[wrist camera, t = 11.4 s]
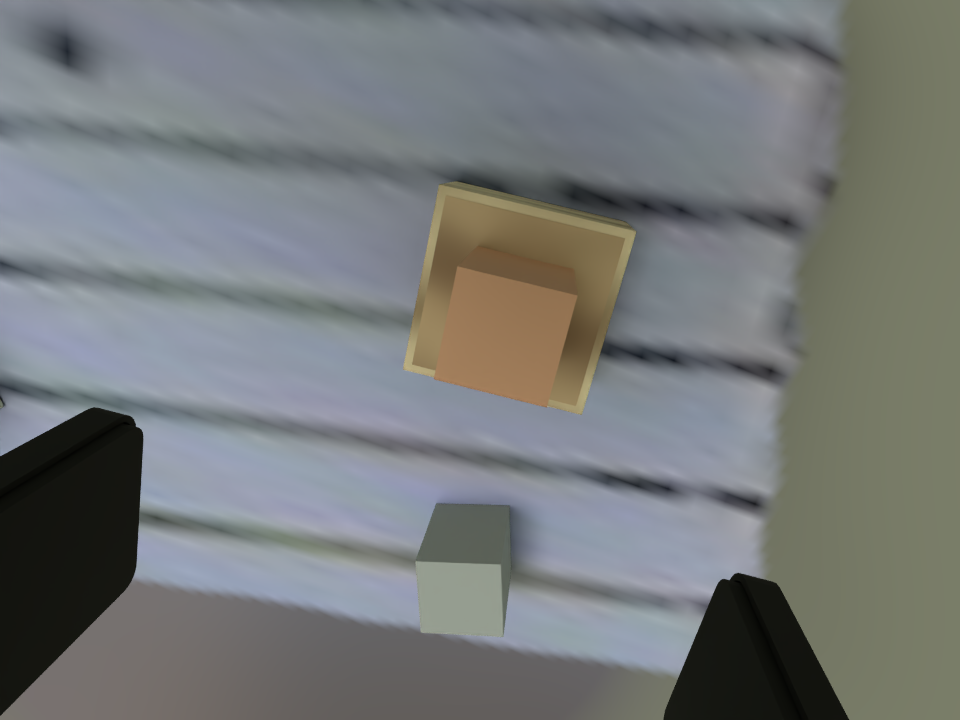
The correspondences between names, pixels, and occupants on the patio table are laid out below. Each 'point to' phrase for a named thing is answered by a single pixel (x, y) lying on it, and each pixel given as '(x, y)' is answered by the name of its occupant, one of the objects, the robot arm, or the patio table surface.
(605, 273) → the tan square tray
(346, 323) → the patio table surface
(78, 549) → the robot arm
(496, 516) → the slate block
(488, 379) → the terracotta block
